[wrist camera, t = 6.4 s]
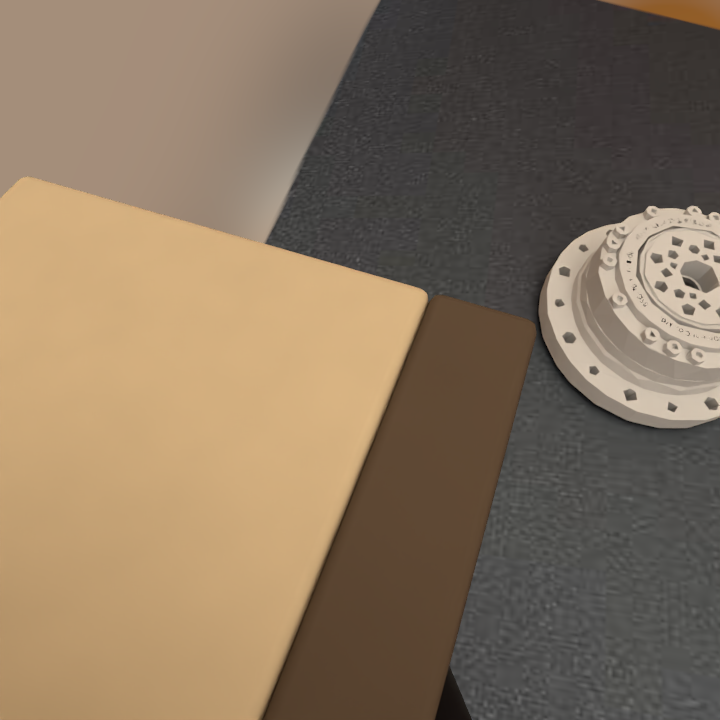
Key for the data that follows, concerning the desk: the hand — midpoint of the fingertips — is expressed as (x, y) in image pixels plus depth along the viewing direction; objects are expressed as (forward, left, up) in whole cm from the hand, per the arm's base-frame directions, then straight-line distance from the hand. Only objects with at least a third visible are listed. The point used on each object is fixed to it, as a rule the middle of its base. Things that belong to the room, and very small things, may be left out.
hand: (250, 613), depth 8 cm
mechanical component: (+16, -10, -14) cm, 24 cm away
